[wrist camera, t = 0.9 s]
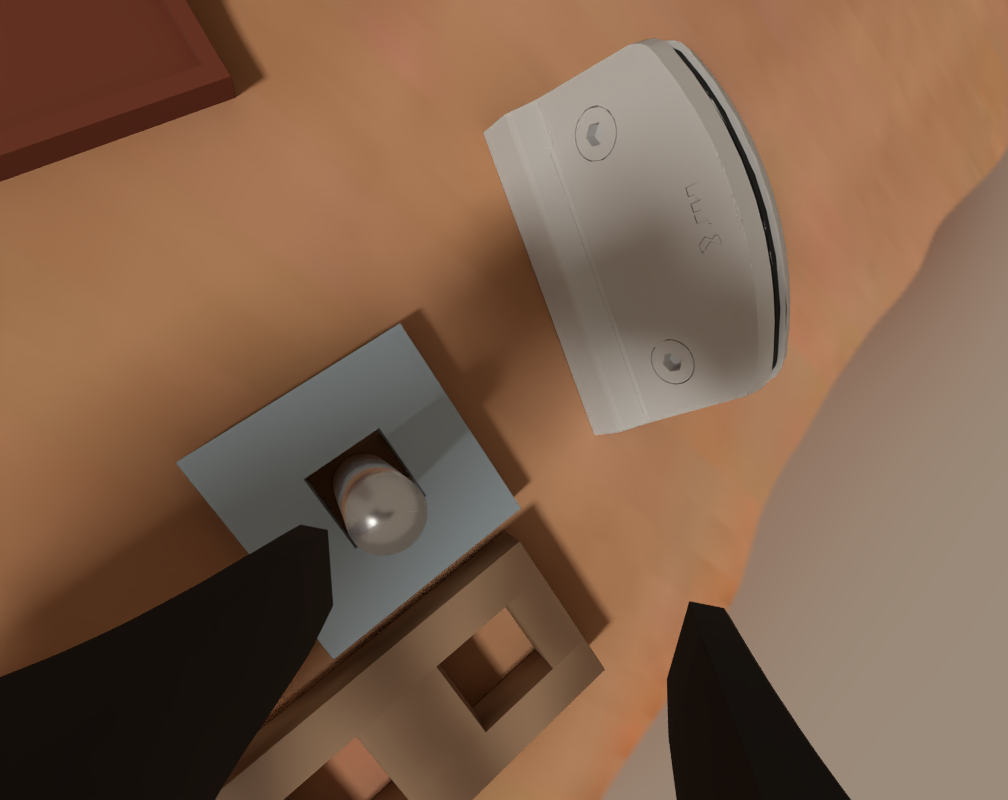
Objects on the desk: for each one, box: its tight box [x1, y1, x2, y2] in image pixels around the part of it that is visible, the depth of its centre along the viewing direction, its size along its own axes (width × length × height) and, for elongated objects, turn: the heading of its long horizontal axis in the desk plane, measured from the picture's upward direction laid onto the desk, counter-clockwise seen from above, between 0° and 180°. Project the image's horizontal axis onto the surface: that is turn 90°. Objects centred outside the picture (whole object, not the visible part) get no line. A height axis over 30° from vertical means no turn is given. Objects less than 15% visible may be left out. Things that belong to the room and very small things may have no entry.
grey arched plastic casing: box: [484, 38, 790, 435], centre depth 24 cm, size 17×5×10 cm, turn 23°
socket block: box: [176, 323, 521, 659], centre depth 23 cm, size 10×10×2 cm
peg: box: [333, 453, 427, 556], centre depth 20 cm, size 3×3×7 cm
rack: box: [215, 531, 605, 800], centre depth 24 cm, size 16×8×2 cm, turn 125°
